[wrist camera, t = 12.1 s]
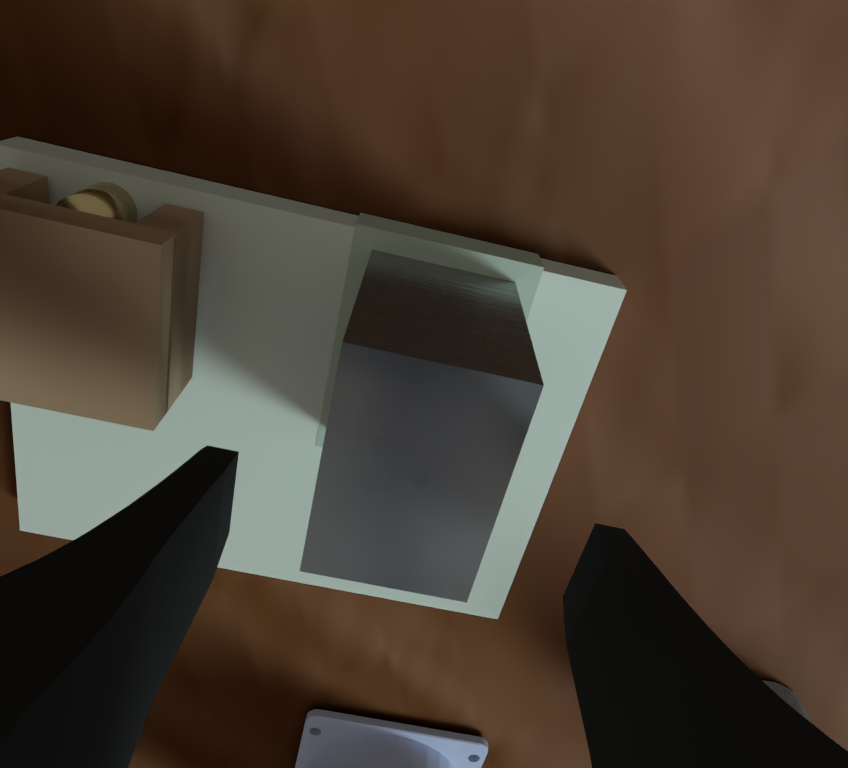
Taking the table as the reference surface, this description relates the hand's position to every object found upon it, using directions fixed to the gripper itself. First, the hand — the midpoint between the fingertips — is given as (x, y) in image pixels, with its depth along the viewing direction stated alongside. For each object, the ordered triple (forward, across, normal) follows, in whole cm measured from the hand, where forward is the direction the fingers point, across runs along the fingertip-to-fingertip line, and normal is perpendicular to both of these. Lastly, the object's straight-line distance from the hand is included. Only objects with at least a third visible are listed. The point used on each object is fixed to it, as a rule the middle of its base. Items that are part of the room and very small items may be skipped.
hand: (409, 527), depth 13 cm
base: (+8, +4, +3) cm, 10 cm away
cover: (+7, +9, -1) cm, 11 cm away
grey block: (+7, 0, 0) cm, 7 cm away
